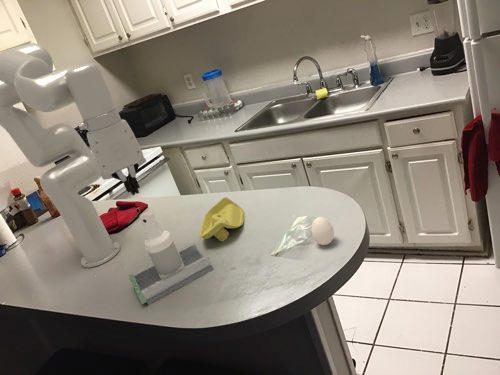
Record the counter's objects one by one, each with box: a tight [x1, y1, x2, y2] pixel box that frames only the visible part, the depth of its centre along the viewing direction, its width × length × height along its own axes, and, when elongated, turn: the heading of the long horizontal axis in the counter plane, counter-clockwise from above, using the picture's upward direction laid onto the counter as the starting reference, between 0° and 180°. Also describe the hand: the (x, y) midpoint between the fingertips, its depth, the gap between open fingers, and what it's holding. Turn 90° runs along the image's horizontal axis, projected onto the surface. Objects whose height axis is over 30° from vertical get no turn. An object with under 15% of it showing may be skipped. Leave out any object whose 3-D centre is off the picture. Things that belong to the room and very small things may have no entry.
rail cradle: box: [128, 242, 214, 306], centre depth 112 cm, size 12×19×4 cm, turn 116°
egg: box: [310, 216, 335, 246], centre depth 104 cm, size 5×5×7 cm
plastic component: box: [199, 197, 245, 242], centre depth 127 cm, size 20×7×10 cm
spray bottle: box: [139, 211, 185, 279], centre depth 109 cm, size 7×7×18 cm
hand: (134, 192), depth 103 cm, fingers closed
